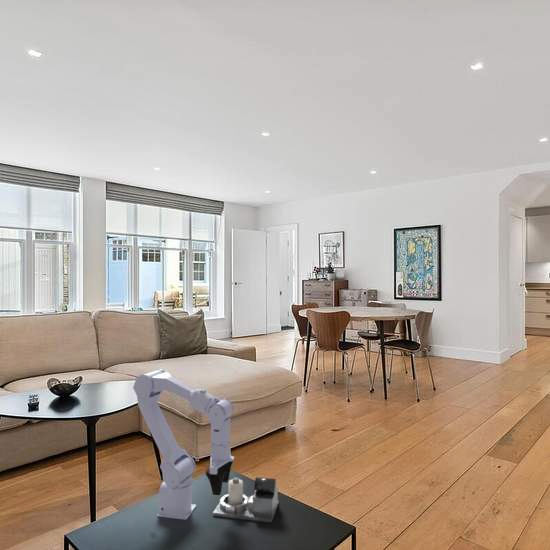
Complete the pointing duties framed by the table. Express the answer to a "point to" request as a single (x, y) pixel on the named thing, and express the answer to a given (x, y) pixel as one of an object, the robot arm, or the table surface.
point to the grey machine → (253, 503)
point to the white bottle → (235, 492)
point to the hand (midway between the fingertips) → (220, 488)
